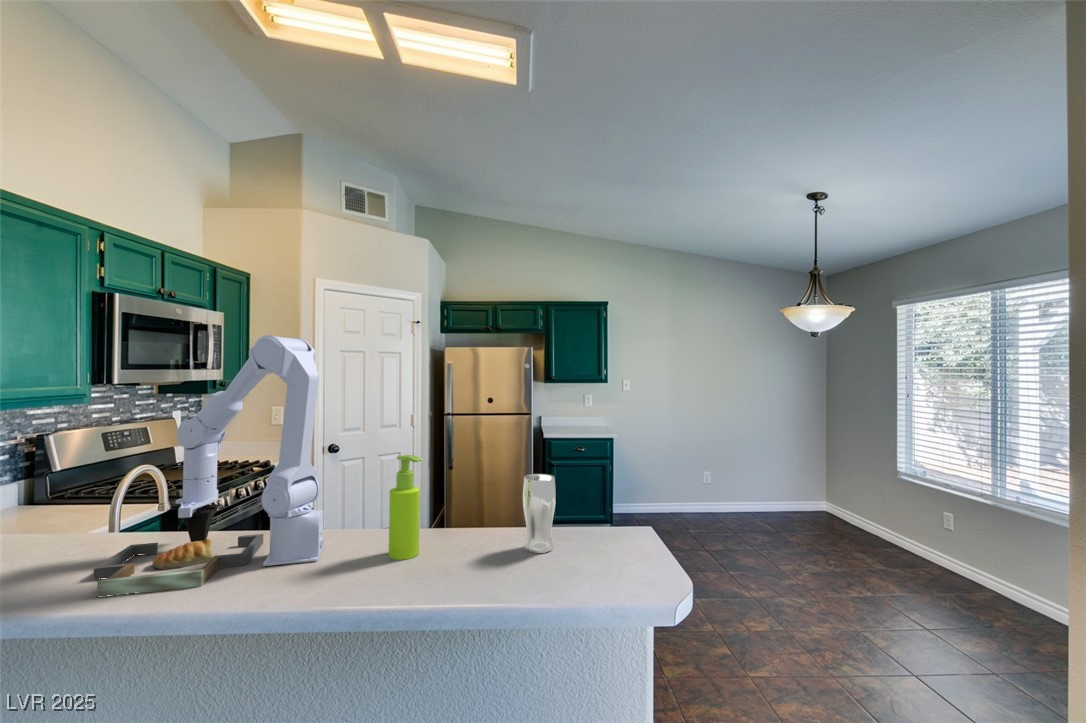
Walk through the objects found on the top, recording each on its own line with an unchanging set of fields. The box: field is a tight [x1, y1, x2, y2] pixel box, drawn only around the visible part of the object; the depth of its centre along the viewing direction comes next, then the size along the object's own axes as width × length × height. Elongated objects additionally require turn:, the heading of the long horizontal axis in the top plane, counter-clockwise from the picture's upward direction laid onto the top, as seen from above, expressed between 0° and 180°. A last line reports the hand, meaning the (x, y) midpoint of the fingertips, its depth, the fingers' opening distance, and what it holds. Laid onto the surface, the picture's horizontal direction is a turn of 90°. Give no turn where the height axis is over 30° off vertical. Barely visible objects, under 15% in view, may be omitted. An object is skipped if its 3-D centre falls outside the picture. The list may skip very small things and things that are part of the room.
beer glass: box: [522, 473, 556, 554], centre depth 99 cm, size 7×7×15 cm
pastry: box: [152, 538, 215, 570], centre depth 91 cm, size 9×7×4 cm
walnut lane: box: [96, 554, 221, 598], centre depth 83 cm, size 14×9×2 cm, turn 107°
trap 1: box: [92, 542, 159, 580], centre depth 89 cm, size 4×12×2 cm, turn 17°
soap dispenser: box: [388, 454, 423, 561], centre depth 95 cm, size 6×7×20 cm
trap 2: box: [218, 533, 264, 569], centre depth 95 cm, size 4×12×2 cm, turn 17°
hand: (198, 542), depth 97 cm, fingers closed
